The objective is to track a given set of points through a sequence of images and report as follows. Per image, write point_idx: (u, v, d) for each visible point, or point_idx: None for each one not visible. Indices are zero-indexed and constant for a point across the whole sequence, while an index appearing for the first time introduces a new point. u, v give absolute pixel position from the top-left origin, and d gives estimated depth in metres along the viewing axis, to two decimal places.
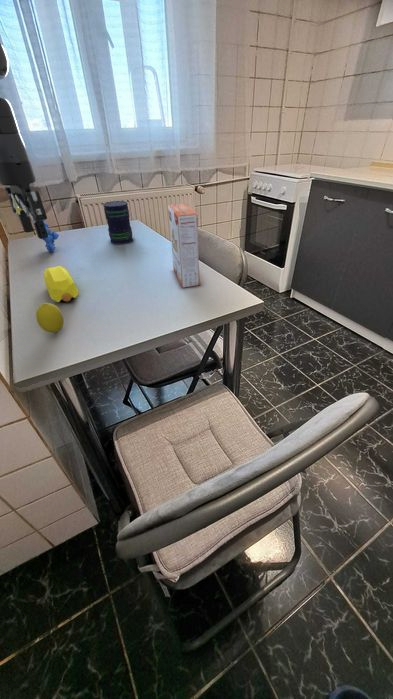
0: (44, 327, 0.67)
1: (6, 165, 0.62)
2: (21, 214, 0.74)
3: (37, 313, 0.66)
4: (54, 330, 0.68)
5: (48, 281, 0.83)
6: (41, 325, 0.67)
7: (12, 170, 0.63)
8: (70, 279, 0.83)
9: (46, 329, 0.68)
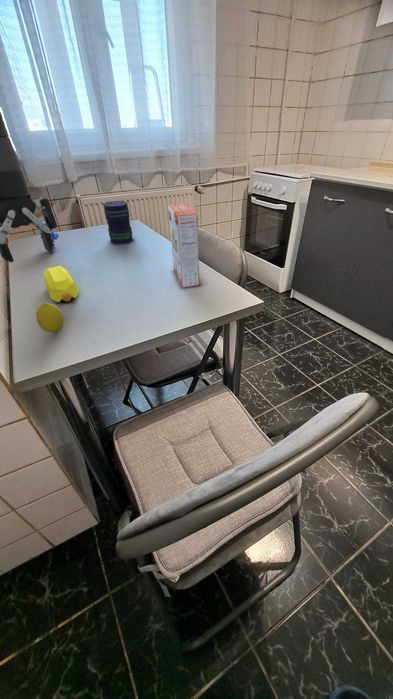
0: (44, 327, 0.67)
1: None
2: (41, 230, 0.64)
3: (37, 313, 0.66)
4: (54, 330, 0.68)
5: (48, 281, 0.83)
6: (41, 325, 0.67)
7: None
8: (70, 279, 0.83)
9: (46, 329, 0.68)
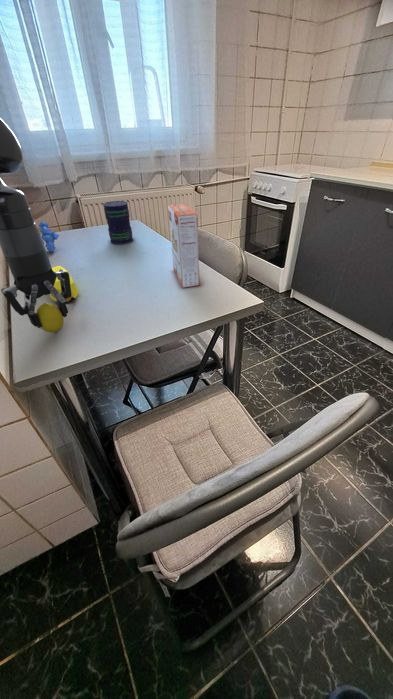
0: (44, 327, 0.67)
1: None
2: (56, 298, 0.68)
3: (37, 313, 0.66)
4: (54, 330, 0.68)
5: None
6: (41, 325, 0.67)
7: None
8: (70, 279, 0.83)
9: (46, 329, 0.68)
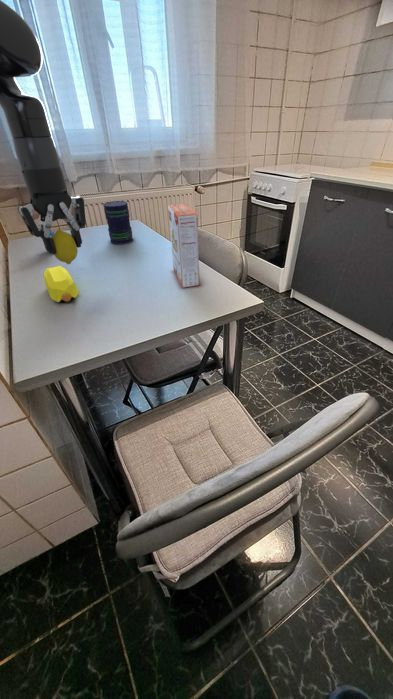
0: (58, 254, 0.67)
1: None
2: (71, 226, 0.68)
3: (52, 239, 0.66)
4: (68, 259, 0.68)
5: (48, 281, 0.83)
6: None
7: None
8: (70, 279, 0.83)
9: (60, 257, 0.67)
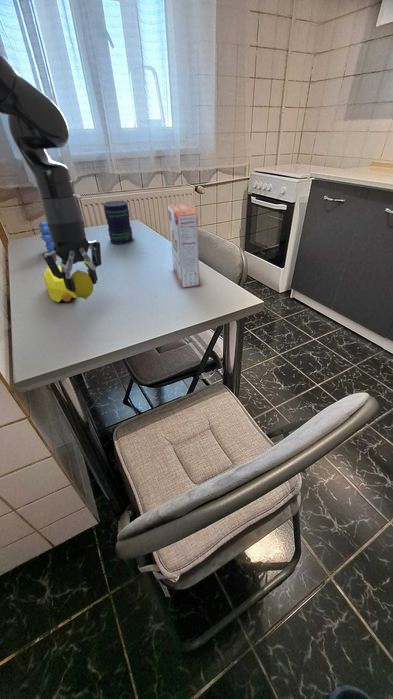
0: (77, 292, 0.75)
1: None
2: (88, 266, 0.76)
3: None
4: (85, 295, 0.76)
5: (48, 281, 0.83)
6: None
7: (49, 228, 0.66)
8: None
9: (78, 294, 0.75)
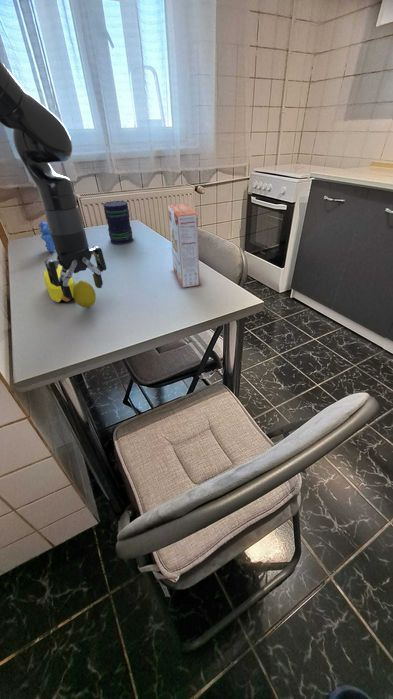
0: (80, 302, 0.77)
1: None
2: (93, 271, 0.78)
3: (74, 289, 0.76)
4: (88, 305, 0.78)
5: (48, 281, 0.83)
6: (77, 300, 0.76)
7: (52, 239, 0.68)
8: (70, 279, 0.83)
9: (81, 304, 0.77)
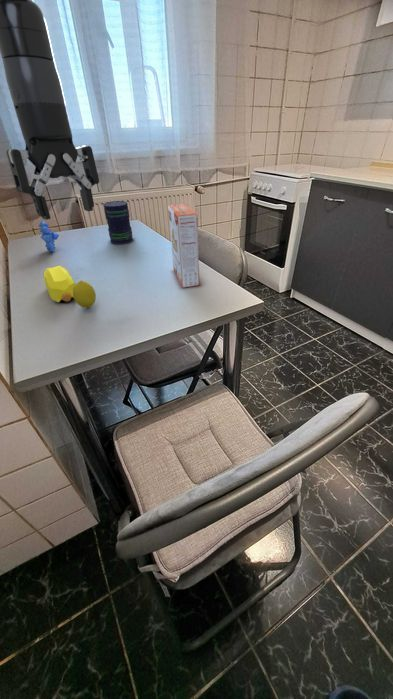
0: (80, 302, 0.77)
1: None
2: (81, 185, 0.55)
3: (74, 289, 0.76)
4: (88, 305, 0.78)
5: (48, 281, 0.83)
6: (77, 300, 0.76)
7: (17, 117, 0.45)
8: (70, 279, 0.83)
9: (81, 304, 0.77)
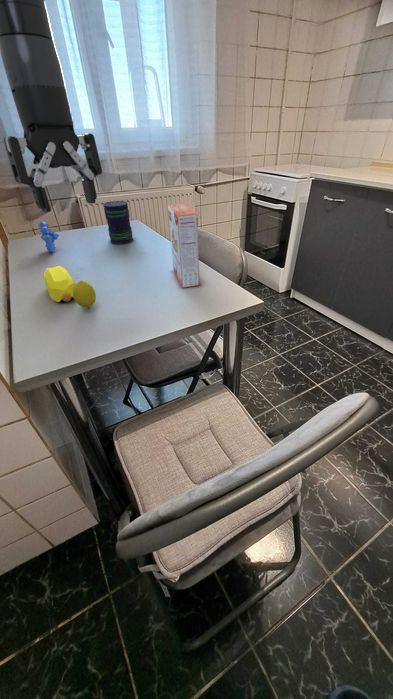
0: (80, 302, 0.77)
1: None
2: (83, 176, 0.52)
3: (74, 289, 0.76)
4: (88, 305, 0.78)
5: (48, 281, 0.83)
6: (77, 300, 0.76)
7: (14, 101, 0.43)
8: (70, 279, 0.83)
9: (81, 304, 0.77)
